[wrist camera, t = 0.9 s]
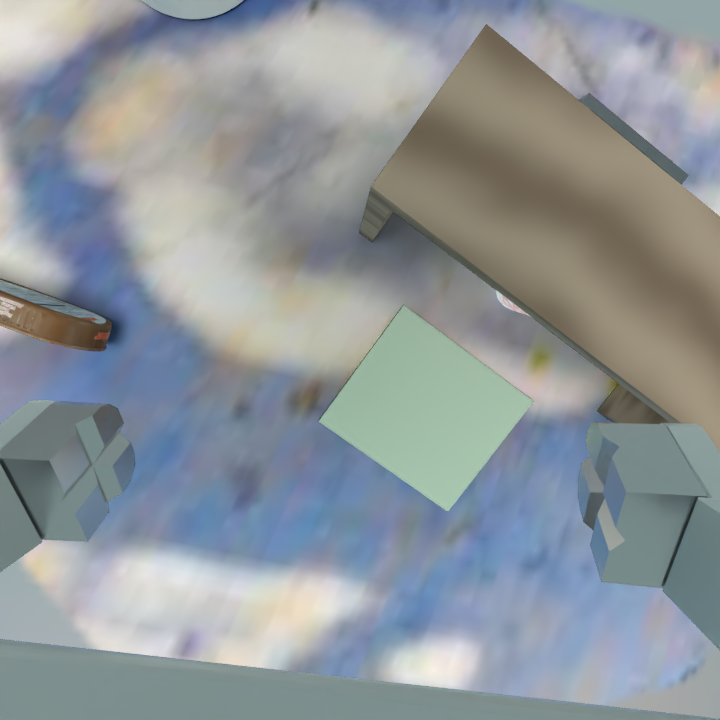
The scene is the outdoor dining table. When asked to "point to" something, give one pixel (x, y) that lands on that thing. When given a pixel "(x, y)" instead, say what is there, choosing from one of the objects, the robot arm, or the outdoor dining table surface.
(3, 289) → the tin
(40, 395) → the outdoor dining table surface
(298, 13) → the outdoor dining table surface
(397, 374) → the sage pad
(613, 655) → the outdoor dining table surface
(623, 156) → the walnut tunnel
